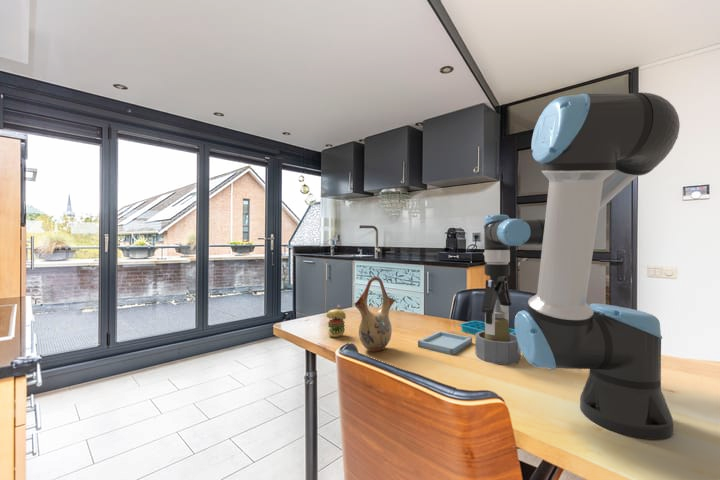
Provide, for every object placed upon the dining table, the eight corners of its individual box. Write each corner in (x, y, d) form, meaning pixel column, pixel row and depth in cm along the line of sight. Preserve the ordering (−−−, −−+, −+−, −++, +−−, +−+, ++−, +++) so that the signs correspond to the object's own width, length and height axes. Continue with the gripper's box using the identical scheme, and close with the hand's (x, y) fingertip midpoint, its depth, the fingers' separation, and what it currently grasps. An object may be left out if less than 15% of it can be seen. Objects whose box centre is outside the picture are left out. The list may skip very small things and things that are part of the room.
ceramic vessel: (362, 358, 103) (361, 279, 103) (348, 350, 111) (347, 277, 111) (402, 349, 111) (402, 276, 111) (387, 342, 119) (386, 274, 119)
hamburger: (324, 337, 125) (323, 306, 125) (329, 332, 132) (329, 303, 132) (343, 339, 123) (343, 307, 123) (348, 333, 130) (347, 303, 130)
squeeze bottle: (512, 355, 105) (512, 299, 105) (509, 363, 99) (509, 304, 98) (486, 350, 110) (486, 297, 110) (481, 358, 103) (481, 301, 103)
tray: (452, 355, 106) (452, 349, 106) (417, 346, 114) (417, 341, 114) (472, 343, 118) (471, 337, 118) (439, 336, 126) (439, 331, 126)
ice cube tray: (475, 327, 140) (475, 320, 140) (520, 338, 124) (520, 330, 124) (457, 331, 134) (457, 324, 134) (503, 344, 117) (503, 336, 117)
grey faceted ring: (513, 367, 95) (512, 345, 95) (469, 357, 103) (469, 337, 103) (524, 355, 105) (524, 335, 105) (484, 347, 113) (484, 328, 113)
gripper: (497, 260, 116) (498, 320, 116) (470, 265, 97) (470, 336, 97) (520, 261, 111) (520, 323, 111) (496, 266, 92) (496, 341, 92)
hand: (497, 329), depth 104 cm, fingers open, 13 cm apart
